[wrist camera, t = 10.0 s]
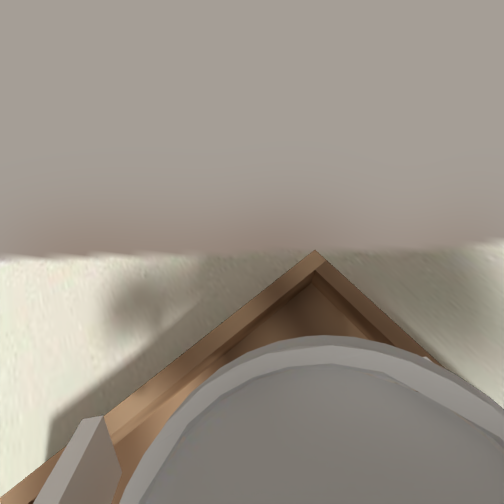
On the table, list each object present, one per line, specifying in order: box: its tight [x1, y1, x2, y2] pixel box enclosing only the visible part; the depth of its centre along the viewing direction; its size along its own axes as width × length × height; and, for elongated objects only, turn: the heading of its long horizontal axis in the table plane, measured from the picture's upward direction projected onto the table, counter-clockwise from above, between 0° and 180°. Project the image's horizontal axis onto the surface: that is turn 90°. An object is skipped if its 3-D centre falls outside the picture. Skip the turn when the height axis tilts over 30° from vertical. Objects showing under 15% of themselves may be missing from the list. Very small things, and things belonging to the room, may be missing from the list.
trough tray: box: [0, 250, 445, 504], centre depth 15 cm, size 20×15×3 cm
